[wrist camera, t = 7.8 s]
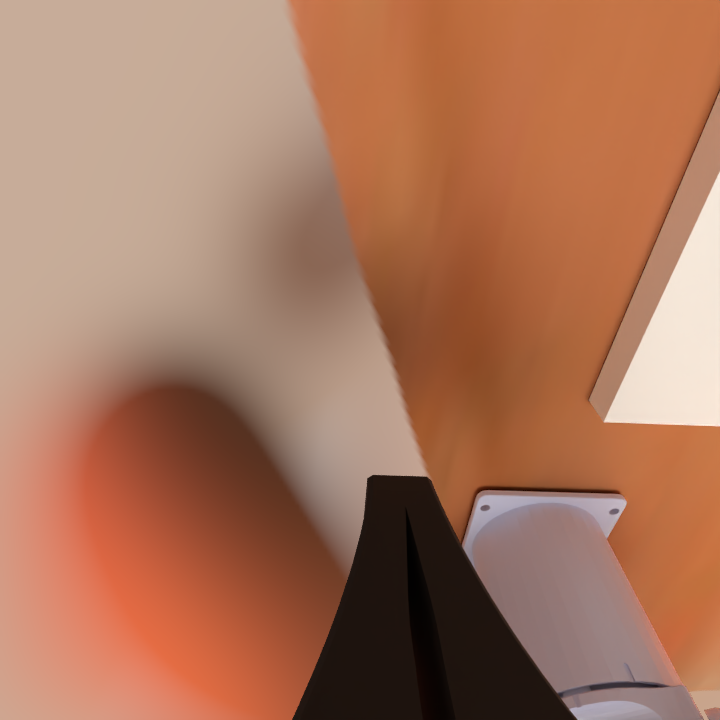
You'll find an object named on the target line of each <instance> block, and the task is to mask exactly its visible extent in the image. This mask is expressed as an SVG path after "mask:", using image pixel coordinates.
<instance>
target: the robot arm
mask: <svg viewBox="0 0 720 720" xmlns="http://www.w3.org/2000/svg"><path fill="white" fill-rule="evenodd" d="M626 504H627V502H626V500H625V498H624V496H622V495H620V494H603V493H569V492H535V491H501V490H484V491H481V492H479V493H478V494H477V496H476V499H475V502H474V506H473V509H472V513H471V516H470V520H469V523H468V526H467V530H466V533H465V537H464V540H463V543H462V545H461V543H460V541H459V540H458V538H457V536H456V534H455V532H454V530H453V528H452V526H451V524H450V522H449V520H448V518H447V516H446V514H445V511H444V509H443V507H442V505H441V503H440V501H439V498H438V496H437V494H436V491H435V489H434V486H433V484H432V481H431V480H430V479H429V478H428V477H419V476H417V477H416V476H387V475H372V476H371V477H369V478H368V479H367V489H366V500H365V512H364V520H363V525H362V530H361V534H360V538H359V542H358V545H357V549H356V553H355V557H354V561H353V564H352V568H351V571H350V574H349V577H348V580H347V583H346V586H345V589H344V592H343V595H342V598H341V602H340V605H339V607H338V610H337V613H336V616H335V618H334V621H333V624H332V626H331V629H330V632H329V634H328V637H327V639H326V642H325V645H324V647H323V650H322V652H321V654H320V657H319V659H318V662H317V664H316V667H315V669H314V671H313V674H312V676H311V678H310V681H309V683H308V686H307V687H306V690H305V692H304V695H303V697H302V699H301V701H300V704H299V706H298V708H297V710H296V712H295V715H294V717H293V719H292V720H704V719H703V717H702V715H701V713H700V711H699V710H698V708H697V706H696V704H695V702H694V701H693V699H692V697H691V695H690V693H689V691H688V690H687V688H686V686H684V685H683V684H682V682H681V680H680V678H679V676H678V674H677V672H676V670H675V668H674V666H673V665H672V663H671V661H670V659H669V657H668V655H667V653H666V651H665V649H664V647H663V645H662V644H661V642H660V640H659V638H658V636H657V634H656V632H655V630H654V628H653V626H652V624H651V623H650V621H649V619H648V617H647V615H646V613H645V611H644V609H643V607H642V605H641V603H640V602H639V600H638V598H637V596H636V594H635V592H634V590H633V588H632V586H631V584H630V582H629V581H628V579H627V577H626V575H625V573H624V571H623V569H622V567H621V565H620V563H619V561H618V560H617V558H616V556H615V554H614V552H613V550H612V548H611V546H610V544H609V542H608V540H607V538H608V536H609V534H610V532H611V531H612V529H613V527H614V525H615V524H616V522H617V520H618V519H619V517H620V515H621V513H622V512H623V510H624V508H625V506H626ZM704 711H705V713H706V715H707V717H708V719H709V720H720V708H712V709H707V710H704Z"/></svg>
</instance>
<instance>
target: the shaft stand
mask: <svg viewBox="0 0 720 720" xmlns="http://www.w3.org/2000/svg"><path fill="white" fill-rule="evenodd" d="M589 402H590V403H591V404H592V406H593V407H594V409H595V410H596V412H597V413H598V415H599V416H600V418H601V419H602V421H603V422H614V423H642V424H671V425H699V426H720V92H719V94H718V97H717V99H716V102H715V104H714V106H713V109H712V111H711V113H710V116H709V118H708V120H707V123H706V125H705V127H704V130H703V132H702V135H701V137H700V139H699V142H698V144H697V146H696V149H695V151H694V153H693V156H692V158H691V160H690V163H689V165H688V168H687V170H686V172H685V175H684V177H683V179H682V182H681V184H680V186H679V189H678V191H677V193H676V196H675V198H674V201H673V203H672V205H671V208H670V210H669V212H668V215H667V217H666V219H665V222H664V224H663V226H662V229H661V231H660V233H659V236H658V238H657V241H656V243H655V245H654V248H653V250H652V252H651V255H650V257H649V259H648V262H647V264H646V266H645V269H644V271H643V274H642V276H641V278H640V281H639V283H638V285H637V288H636V290H635V292H634V295H633V297H632V299H631V302H630V304H629V307H628V309H627V311H626V314H625V316H624V318H623V321H622V323H621V325H620V328H619V330H618V332H617V335H616V337H615V340H614V342H613V344H612V347H611V349H610V351H609V354H608V356H607V358H606V361H605V363H604V365H603V368H602V370H601V373H600V375H599V377H598V380H597V382H596V384H595V387H594V389H593V391H592V394H591V396H590V398H589Z"/></svg>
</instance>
